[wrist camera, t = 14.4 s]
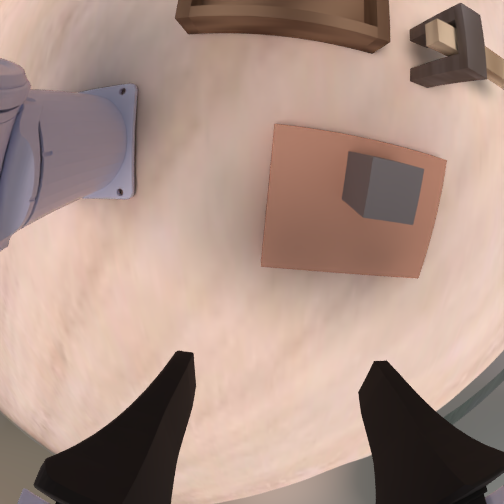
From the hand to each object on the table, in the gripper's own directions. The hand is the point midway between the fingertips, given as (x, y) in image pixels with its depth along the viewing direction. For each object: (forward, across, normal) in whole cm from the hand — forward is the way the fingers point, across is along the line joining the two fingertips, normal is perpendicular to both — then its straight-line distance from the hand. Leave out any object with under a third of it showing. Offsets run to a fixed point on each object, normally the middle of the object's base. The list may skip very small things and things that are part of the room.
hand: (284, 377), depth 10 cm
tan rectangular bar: (+6, -11, -17) cm, 21 cm away
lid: (+11, -5, -5) cm, 13 cm away
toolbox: (+10, -1, -19) cm, 22 cm away
